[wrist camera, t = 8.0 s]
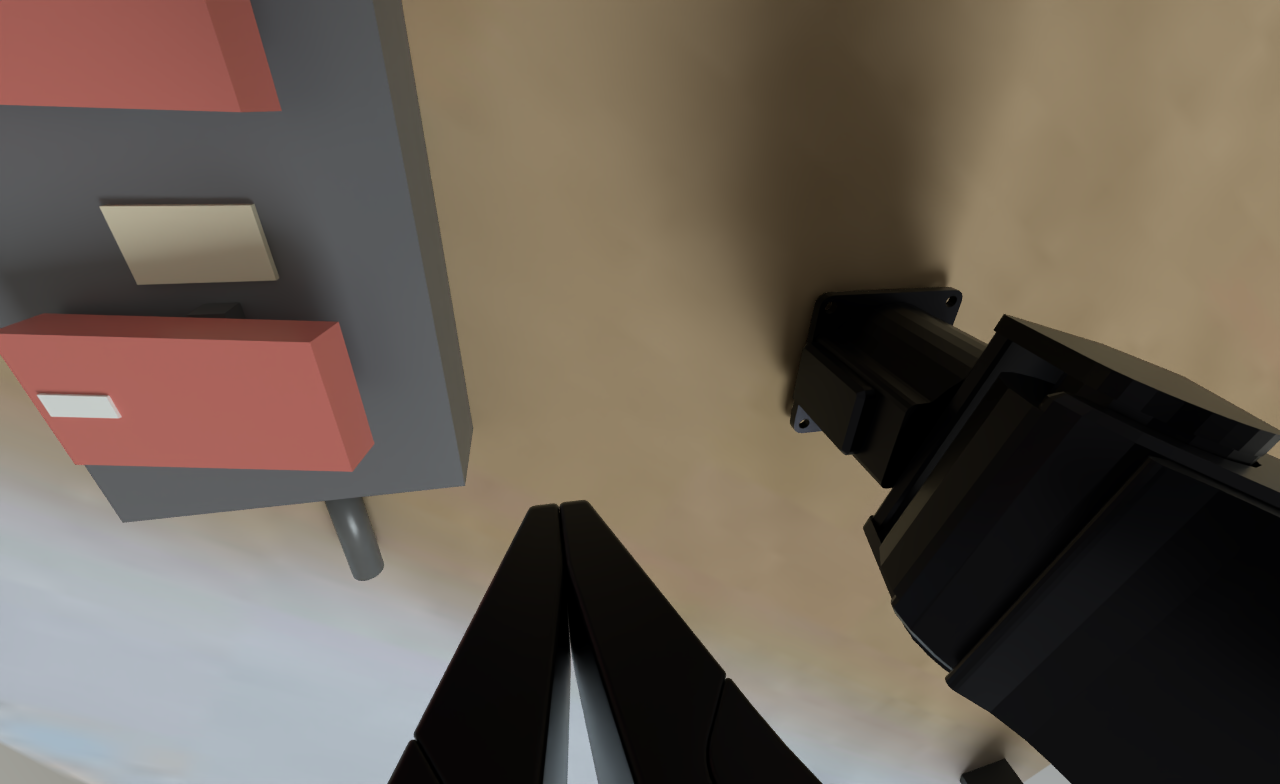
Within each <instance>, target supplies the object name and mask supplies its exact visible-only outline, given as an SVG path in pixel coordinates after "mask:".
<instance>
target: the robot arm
mask: <svg viewBox="0 0 1280 784" xmlns="http://www.w3.org/2000/svg"><path fill="white" fill-rule="evenodd" d="M949 297H950V298H949ZM948 298H949V300H948V301H947V299H948ZM946 301H947V302H946ZM961 301H962V293H961V292H960V291H959V290H956V289H954V288H952V287H934V288H911V289H888V290H866V291H843V292H827V293H824V294H822V295H821V296H819V297H818V299H817V300H816V302H815V305H814V310H813V314H812V319H811V324H810V328H809V333H808V338H807V342H806V345H805V347H804V348H803V351H802V356H801V361H800V366H799V370H798V375H797V380H796V385H795V389H794V394H793V399H794V403H793V408H792V413H791V418H790V424H791V426H792V427H793V429H794V430H795V431H796V432H798V433H807V432H817V431H823V432H824V433H825V434H826V436H827V437H828V438H829V439H830V440H831V441H832V442H833V443H834V444H835V445H836V447H837V448H838V449H839V450H840V451H841V452H842V453H843V454H844V455H853V456H854V457H855V458H856V460H857V461H858V462H859V463H860V464H861V465H862V466H863V467H864V468H865V469H866V470H867V471H868V472H869V474H870V475H871V476H872V477H873V478H874V479H875V480H876V481H877V482H878V483H879V484H880V485H881V486H882V487H883V488H892V489H891V491H890V492H889V494H888V495H887V497H886V498H885V500H884V501H883V503H882V504H881V506H880V507H879V509H878V510H877V512H876V513H875V515H872V516H870V517H869V519H868V520H867V522H866V523H865V525H864V526H863V530H864V532H865V535H866V537H867V539H868V542H869V544H870V547H871V549H872V552H873V554H874V557H875V559H876V561H877V564H878V566H879V569H880V571H881V574H882V576H883V579H884V581H885V583H886V586H887V588H888V591H889V593H890V596H891V598H892V599H891V605H892V607H893V610H894V612H895V614H896V615H897V616H898V618H899V619H900V620H901V621H902V623H903V625H904V627H905V628H906V630H907V631H908V632H909V634H910V635H911V637H912V639H913V640H914V641H915V642H916V643H917V644H918V645H919V646H920V647H921V648H922V649H923V650H924V651H925V653H926V654H927V655H928V656H929V657H931V658H932V659H933V660H934V661H935V662H936V663H938V664H939V665H940V666H941V667H942V668H943V669H945V670H946V671H948V672H949V674H948V675H947V676H946V677H945V680H946V683H947V684H948V686H949V687H950V688H951V689H952V690H954V691H955V692H957V693H959V694H960V695H962V696H964V697H965V698H967V699H968V700H970V701H972V702H973V703H975V704H977V705H978V706H980V707H982V708H983V709H985V710H987V711H988V712H990V713H991V714H993V715H994V716H995V717H996V718H998V719H999V720H1000V721H1002V722H1003V723H1004V724H1005V725H1007V726H1008V727H1009V728H1011V729H1012V730H1013V731H1015V732H1016V733H1017V734H1018V735H1020V736H1021V737H1022V738H1024V739H1025V740H1026V741H1027V742H1028V743H1029V744H1030V745H1031V746H1033V747H1034V748H1035V749H1036V750H1037V751H1038V752H1039V753H1040V754H1041V755H1042V756H1043V757H1044V758H1046V759H1047V760H1048V761H1049V762H1050V763H1051V764H1052V765H1053V766H1054V767H1055V768H1056V769H1057V770H1058V771H1059V772H1060V773H1061V774H1062V775H1063V776H1064V777H1065V778H1066V779H1067V780H1068V781H1069V782H1070V783H1071V784H1280V459H1278V458H1276V457H1273V456H1271V455H1269V454H1267V452H1268V451H1269V450H1270V449H1271V448H1272V447H1273V446H1274V445H1275V444H1276V443H1277V442H1278V441H1279V440H1280V430H1278V429H1277V428H1275V427H1273V426H1271V425H1269V424H1268V423H1266V422H1264V421H1262V420H1260V419H1259V418H1257V417H1255V416H1253V415H1252V414H1250V413H1248V412H1246V411H1244V410H1243V409H1241V408H1239V407H1237V406H1236V405H1234V404H1232V403H1230V402H1228V401H1227V400H1225V399H1223V398H1221V397H1220V396H1218V395H1216V394H1214V393H1212V392H1211V391H1209V390H1207V389H1205V388H1203V387H1202V386H1200V385H1198V384H1196V383H1195V382H1193V381H1191V380H1189V379H1187V378H1186V377H1183V376H1181V375H1179V374H1176V373H1174V372H1172V371H1169V370H1167V369H1164V368H1162V367H1159V366H1157V365H1154V364H1152V363H1149V362H1147V361H1144V360H1142V359H1139V358H1137V357H1134V356H1132V355H1129V354H1127V353H1124V352H1122V351H1119V350H1117V349H1114V348H1112V347H1109V346H1107V345H1104V344H1101V343H1098V342H1095V341H1092V340H1088V339H1085V338H1082V337H1078V336H1075V335H1072V334H1069V333H1065V332H1062V331H1059V330H1055V329H1052V328H1049V327H1046V326H1042V325H1039V324H1036V323H1033V322H1029V321H1026V320H1023V319H1019V318H1016V317H1013V316H1010V315H1006V314H1004V315H1003V316H1002V318H1001V319H1000V321H999V322H998V324H997V325H996V327H995V328H994V331H996V333H995V335H994V336H993V338H992V339H991V341H990V342H989V344H986V343H984V342H982V341H980V340H979V339H977V338H975V337H973V336H971V335H969V334H967V333H965V332H963V331H961V330H960V329H958V328H956V327H954V326H953V323H954V321H955V318H956V315H957V312H958V310H959V307H960V304H961ZM829 302H832V304H831V307H830V308H829V309H827V310H825V307H826V305H827V304H828V303H829ZM804 419H805V420H804ZM802 420H804V421H803V422H802V423H800V422H801V421H802ZM799 423H800V424H799ZM559 511H560V513H559ZM569 633H570V637H569ZM570 643H571V652H572V659H573V664H574V670H575V675H576V680H577V685H578V689H579V694H580V699H581V704H582V708H583V713H584V718H585V723H586V727H587V732H588V737H589V742H590V746H591V751H592V756H593V761H594V765H595V770H596V775H597V780H598V784H822V783H821V782H820V781H819V780H818V779H817V777H816V776H815V775H814V774H813V773H812V772H811V771H810V770H809V769H808V768H807V767H806V766H805V765H804V764H803V763H802V762H801V760H800V759H799V758H798V757H797V756H796V755H795V754H794V753H793V752H792V751H791V750H790V749H789V748H788V747H787V746H786V744H785V743H784V742H783V741H782V740H781V739H780V737H779V736H778V735H777V734H776V733H775V731H774V730H773V729H772V728H771V727H770V726H769V724H768V723H767V722H766V721H765V720H764V719H763V717H762V716H761V715H760V714H759V713H758V711H757V710H756V709H755V708H754V707H753V706H752V704H751V703H750V702H749V701H748V699H747V698H746V697H745V696H744V694H743V693H742V692H741V691H740V689H739V688H738V687H737V686H736V684H735V683H734V682H733V681H732V679H730V678H726V673H725V671H724V670H723V669H722V667H721V666H720V665H719V664H718V662H717V661H716V660H715V659H714V657H713V656H712V655H711V654H710V653H709V651H708V650H707V649H706V648H705V646H704V645H703V644H702V643H701V641H700V640H699V639H698V638H697V636H696V635H695V634H694V633H693V631H692V630H691V629H690V628H689V626H688V625H687V624H686V623H685V621H684V620H683V619H682V618H681V616H680V615H679V614H678V613H677V611H676V610H675V609H674V608H673V606H672V605H671V604H670V603H669V601H668V600H667V599H666V598H665V597H664V595H663V594H662V593H661V592H660V590H659V589H658V588H657V587H656V585H655V584H654V583H653V582H652V580H651V579H650V578H649V577H648V575H647V574H646V573H645V572H644V570H643V569H642V568H641V567H640V565H639V564H638V563H637V562H636V560H635V559H634V558H633V557H632V555H631V554H630V553H629V552H628V550H627V549H626V548H625V547H624V545H623V544H622V543H621V542H620V540H619V539H618V538H617V537H616V536H615V534H614V533H613V532H612V531H611V529H610V528H609V527H608V526H607V524H606V523H605V522H604V521H603V519H602V518H601V517H600V516H599V514H598V513H597V512H596V511H595V509H594V508H593V507H592V506H591V504H590V503H589V502H588V501H586V500H578V501H570V502H563V503H561V504H560V507H559V506H558V505H557V504H554V503H553V504H545V505H536V506H532V507H531V508H530V509H529V510H528V512H527V514H526V516H525V518H524V519H523V521H522V523H521V525H520V527H519V529H518V531H517V533H516V535H515V537H514V539H513V541H512V543H511V545H510V547H509V549H508V551H507V553H506V554H505V556H504V558H503V560H502V562H501V564H500V566H499V568H498V570H497V572H496V574H495V576H494V578H493V580H492V582H491V584H490V586H489V588H488V590H487V591H486V593H485V595H484V597H483V599H482V601H481V603H480V605H479V607H478V609H477V611H476V613H475V615H474V617H473V619H472V621H471V623H470V625H469V627H468V628H467V630H466V632H465V634H464V636H463V638H462V640H461V642H460V644H459V646H458V648H457V650H456V652H455V654H454V656H453V658H452V660H451V662H450V663H449V665H448V667H447V669H446V671H445V673H444V675H443V677H442V679H441V681H440V683H439V685H438V687H437V689H436V691H435V693H434V695H433V697H432V699H431V700H430V702H429V704H428V706H427V708H426V710H425V712H424V714H423V716H422V718H421V720H420V722H419V724H418V726H417V728H416V730H415V732H414V738H415V740H411V741H410V742H409V743H408V745H407V746H406V748H405V750H404V752H403V754H402V756H401V758H400V760H399V762H398V764H397V766H396V768H395V770H394V772H393V774H392V776H391V778H390V780H389V782H388V783H387V784H567V772H568V740H569V709H570V677H571V654H570ZM725 678H726V679H725Z"/></svg>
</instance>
